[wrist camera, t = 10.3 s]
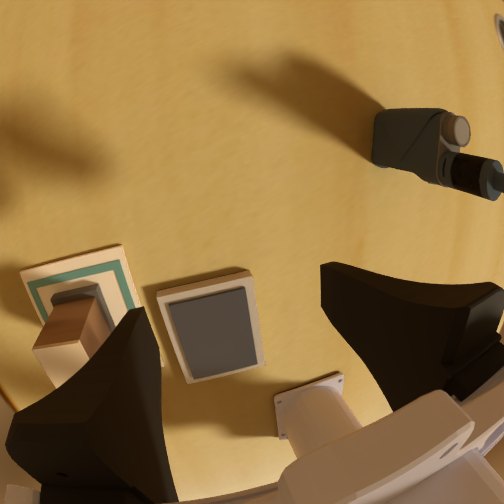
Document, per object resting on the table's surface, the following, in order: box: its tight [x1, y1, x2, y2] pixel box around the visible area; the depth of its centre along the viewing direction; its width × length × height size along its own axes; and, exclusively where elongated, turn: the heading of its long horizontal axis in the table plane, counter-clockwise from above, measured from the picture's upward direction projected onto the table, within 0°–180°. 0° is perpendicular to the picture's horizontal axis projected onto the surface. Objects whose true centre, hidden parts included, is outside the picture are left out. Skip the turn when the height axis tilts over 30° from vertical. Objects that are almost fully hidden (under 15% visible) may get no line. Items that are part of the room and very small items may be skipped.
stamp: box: [32, 283, 116, 389], centre depth 17 cm, size 5×4×6 cm
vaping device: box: [372, 108, 504, 201], centre depth 16 cm, size 3×5×12 cm, turn 176°
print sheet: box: [19, 245, 164, 367], centre depth 20 cm, size 11×9×1 cm
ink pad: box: [156, 270, 265, 384], centre depth 23 cm, size 9×7×1 cm
